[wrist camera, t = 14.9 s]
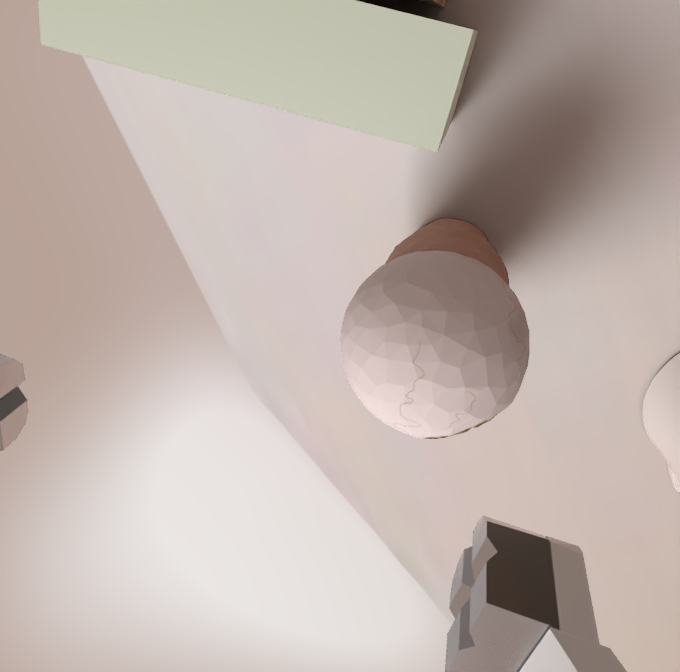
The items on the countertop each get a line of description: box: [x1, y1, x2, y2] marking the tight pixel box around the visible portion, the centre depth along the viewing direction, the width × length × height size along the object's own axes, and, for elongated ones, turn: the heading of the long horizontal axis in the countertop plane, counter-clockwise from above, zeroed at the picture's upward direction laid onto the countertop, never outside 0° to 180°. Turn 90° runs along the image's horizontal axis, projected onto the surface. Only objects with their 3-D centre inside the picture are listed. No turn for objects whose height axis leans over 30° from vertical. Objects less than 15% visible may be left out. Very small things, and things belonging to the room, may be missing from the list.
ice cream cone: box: [341, 218, 529, 439], centre depth 37 cm, size 11×11×20 cm
